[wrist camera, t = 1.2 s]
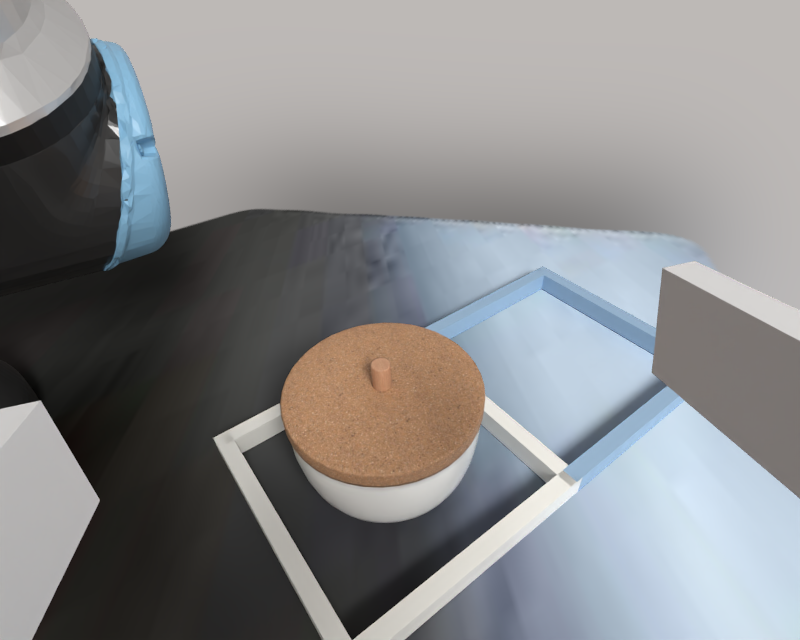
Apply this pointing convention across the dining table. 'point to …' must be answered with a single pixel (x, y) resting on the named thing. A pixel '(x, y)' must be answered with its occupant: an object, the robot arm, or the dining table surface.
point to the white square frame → (447, 582)
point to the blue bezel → (602, 313)
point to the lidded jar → (384, 419)
